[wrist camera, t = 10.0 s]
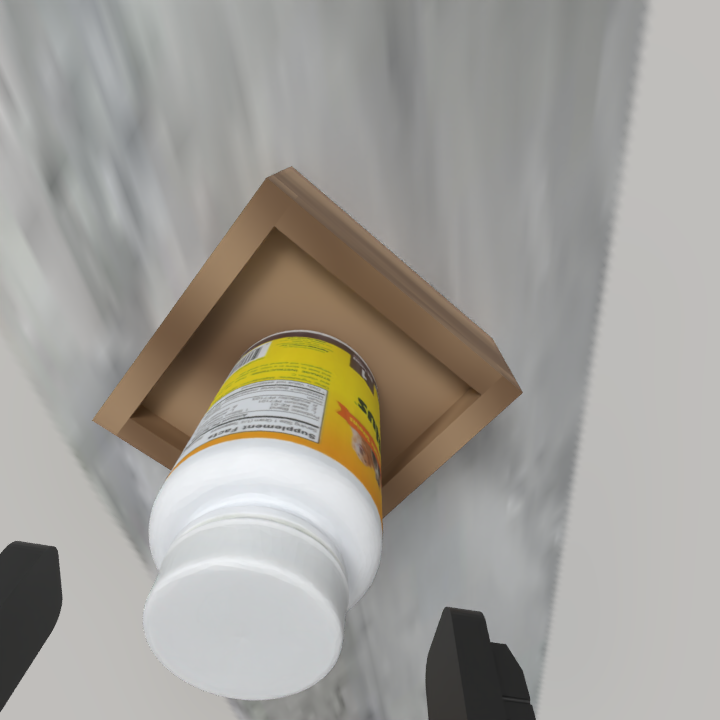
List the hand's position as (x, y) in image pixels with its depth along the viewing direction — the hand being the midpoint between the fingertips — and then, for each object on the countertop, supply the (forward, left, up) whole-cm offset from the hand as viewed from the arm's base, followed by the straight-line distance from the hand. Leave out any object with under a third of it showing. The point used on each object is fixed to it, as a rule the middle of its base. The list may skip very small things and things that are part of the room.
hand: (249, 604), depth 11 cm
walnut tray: (0, 0, -13) cm, 13 cm away
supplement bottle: (0, 0, -10) cm, 10 cm away
